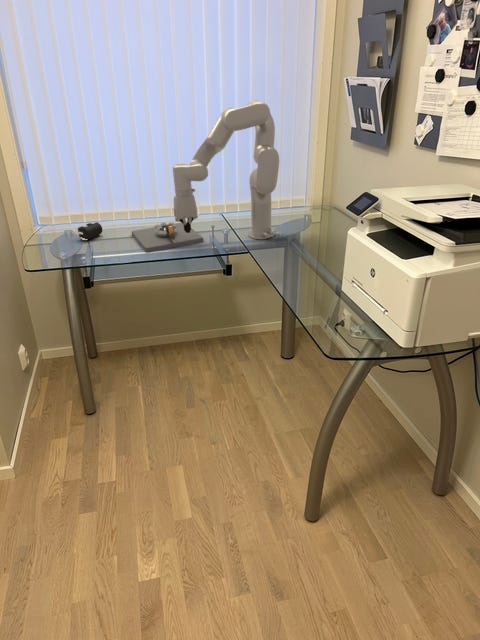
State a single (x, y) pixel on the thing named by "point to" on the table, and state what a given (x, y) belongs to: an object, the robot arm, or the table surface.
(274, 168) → the robot arm
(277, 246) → the table surface
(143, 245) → the grey square base plate
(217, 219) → the table surface
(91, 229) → the end cap
